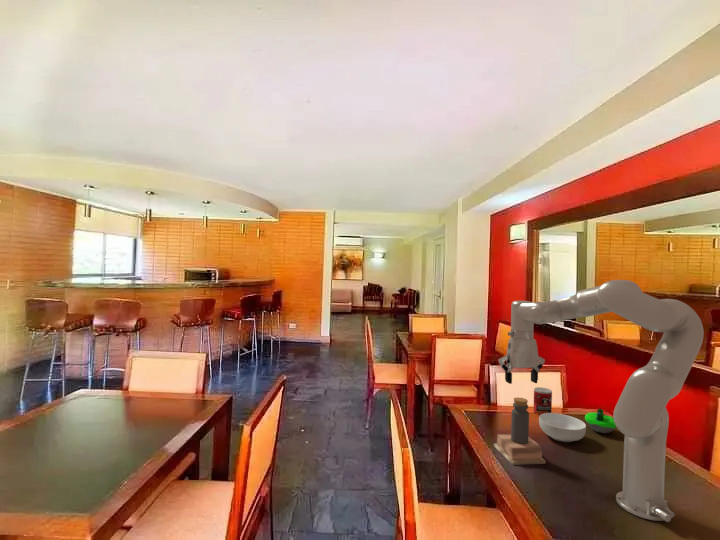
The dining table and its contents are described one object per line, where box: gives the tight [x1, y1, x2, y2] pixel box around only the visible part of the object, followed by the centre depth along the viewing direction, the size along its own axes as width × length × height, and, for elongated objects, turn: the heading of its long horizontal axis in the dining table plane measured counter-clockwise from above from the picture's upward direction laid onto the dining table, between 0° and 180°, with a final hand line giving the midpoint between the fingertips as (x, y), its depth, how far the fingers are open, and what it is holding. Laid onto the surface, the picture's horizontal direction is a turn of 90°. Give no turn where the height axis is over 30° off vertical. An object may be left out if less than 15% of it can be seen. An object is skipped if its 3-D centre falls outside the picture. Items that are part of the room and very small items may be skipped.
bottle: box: [510, 397, 530, 444], centre depth 142 cm, size 6×6×15 cm
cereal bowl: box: [538, 412, 587, 443], centre depth 157 cm, size 17×17×7 cm
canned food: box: [533, 386, 553, 416], centre depth 184 cm, size 8×8×11 cm
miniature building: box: [584, 407, 617, 434], centre depth 164 cm, size 12×12×11 cm
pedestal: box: [493, 433, 547, 466], centre depth 142 cm, size 14×12×5 cm
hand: (521, 382), depth 141 cm, fingers open, 9 cm apart
